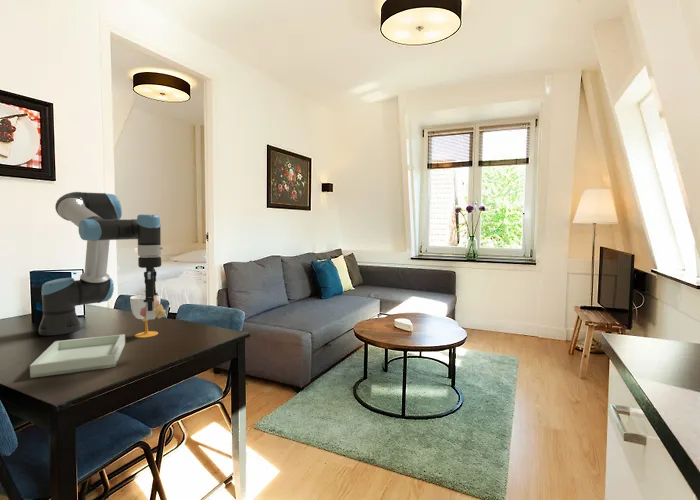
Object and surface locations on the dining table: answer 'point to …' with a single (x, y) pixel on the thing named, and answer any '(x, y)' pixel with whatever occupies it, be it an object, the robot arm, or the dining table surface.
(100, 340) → the tray
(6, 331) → the dining table surface
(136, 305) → the cup
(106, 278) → the robot arm
